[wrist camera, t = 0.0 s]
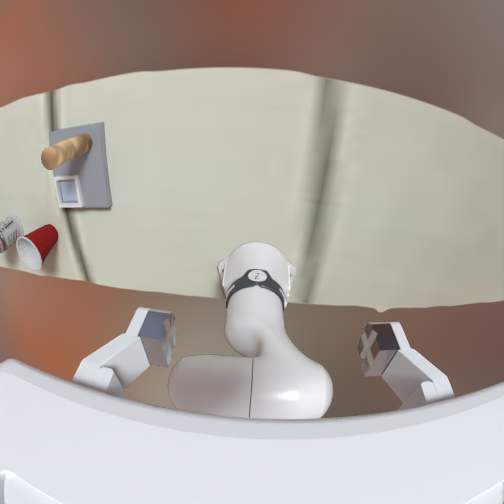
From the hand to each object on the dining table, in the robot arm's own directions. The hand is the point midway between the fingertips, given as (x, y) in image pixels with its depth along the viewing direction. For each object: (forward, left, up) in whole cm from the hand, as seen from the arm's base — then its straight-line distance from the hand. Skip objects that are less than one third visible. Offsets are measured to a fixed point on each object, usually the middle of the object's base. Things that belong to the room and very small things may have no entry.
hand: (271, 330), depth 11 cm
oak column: (0, +40, -46) cm, 61 cm away
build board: (-6, +43, -48) cm, 65 cm away
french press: (-23, +78, -48) cm, 94 cm away
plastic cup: (-25, +60, -48) cm, 81 cm away
